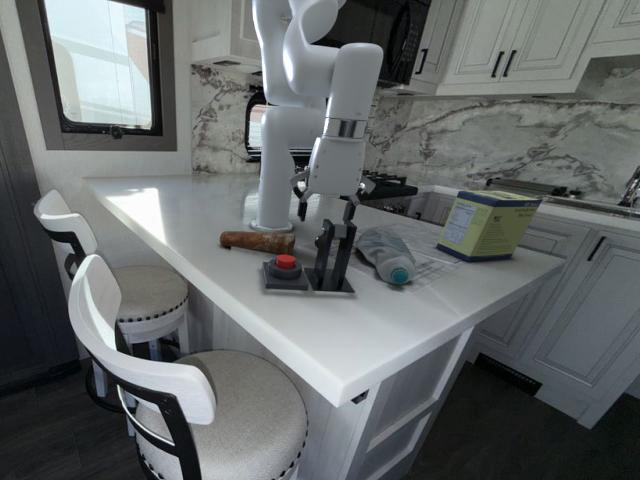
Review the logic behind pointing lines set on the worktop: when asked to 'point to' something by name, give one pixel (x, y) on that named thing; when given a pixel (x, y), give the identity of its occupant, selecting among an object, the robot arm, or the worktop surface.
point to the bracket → (335, 277)
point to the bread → (259, 241)
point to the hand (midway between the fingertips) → (323, 221)
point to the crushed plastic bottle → (387, 255)
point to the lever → (335, 233)
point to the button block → (284, 276)
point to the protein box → (487, 224)
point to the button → (285, 261)
